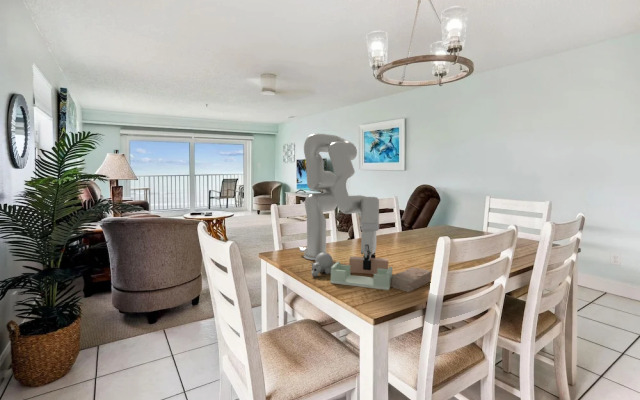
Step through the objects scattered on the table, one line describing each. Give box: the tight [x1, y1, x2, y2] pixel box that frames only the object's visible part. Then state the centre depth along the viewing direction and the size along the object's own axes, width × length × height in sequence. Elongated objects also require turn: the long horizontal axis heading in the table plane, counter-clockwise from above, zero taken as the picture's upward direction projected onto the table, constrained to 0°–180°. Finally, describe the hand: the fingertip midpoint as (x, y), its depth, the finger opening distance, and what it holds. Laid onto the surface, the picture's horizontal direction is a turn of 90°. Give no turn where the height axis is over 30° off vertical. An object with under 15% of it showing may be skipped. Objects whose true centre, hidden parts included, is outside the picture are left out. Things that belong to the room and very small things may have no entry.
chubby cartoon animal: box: [310, 251, 335, 278], centre depth 136 cm, size 7×12×8 cm, turn 137°
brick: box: [390, 266, 432, 293], centre depth 125 cm, size 17×8×5 cm, turn 135°
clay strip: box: [348, 256, 389, 275], centre depth 139 cm, size 16×4×6 cm, turn 79°
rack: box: [330, 261, 393, 291], centre depth 126 cm, size 22×9×6 cm, turn 70°
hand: (369, 266), depth 139 cm, fingers open, 9 cm apart
